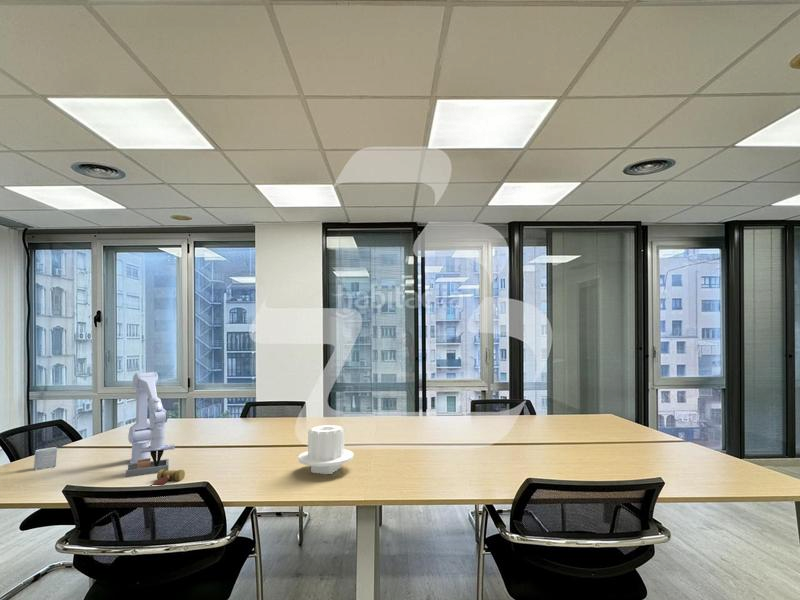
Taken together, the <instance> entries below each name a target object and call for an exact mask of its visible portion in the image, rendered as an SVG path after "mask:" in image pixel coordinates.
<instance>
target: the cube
mask: <svg viewBox="0 0 800 600" xmlns="http://www.w3.org/2000/svg"><path fill="white" fill-rule="evenodd" d="M151 458H152V457H149V458H147V459H139V460H138V462H137V469H142V468H149V467H150V461H152V460H151Z"/></svg>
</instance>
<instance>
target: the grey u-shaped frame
mask: <svg viewBox="0 0 800 600" xmlns="http://www.w3.org/2000/svg"><path fill="white" fill-rule="evenodd" d="M156 462H157V460H156ZM169 465H170V463H169V458H166V459H164V458H163V459H160V461H159V465H158V466H157V467H155V465H154V461H153V460H150V467H149V468H142V469H137V463H128V464H127V470H126V471H125V478H129V477H135V476H143V475H150V474H156V473H157V474H158V472H159V471H160V470H169Z"/></svg>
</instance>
